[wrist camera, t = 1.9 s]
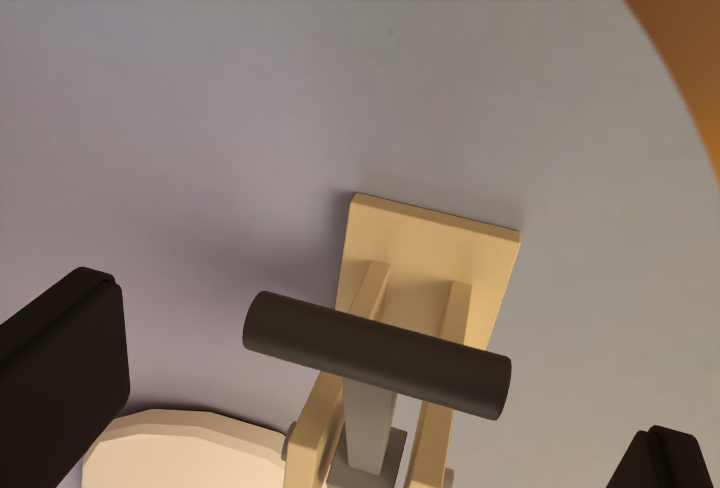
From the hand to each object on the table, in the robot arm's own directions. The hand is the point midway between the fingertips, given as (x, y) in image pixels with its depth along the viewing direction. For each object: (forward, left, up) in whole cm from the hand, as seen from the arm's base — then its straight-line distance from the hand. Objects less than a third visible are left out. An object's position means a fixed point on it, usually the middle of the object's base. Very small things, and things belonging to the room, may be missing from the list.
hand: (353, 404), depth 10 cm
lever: (+4, 0, -5) cm, 7 cm away
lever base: (+9, 0, -17) cm, 20 cm away
